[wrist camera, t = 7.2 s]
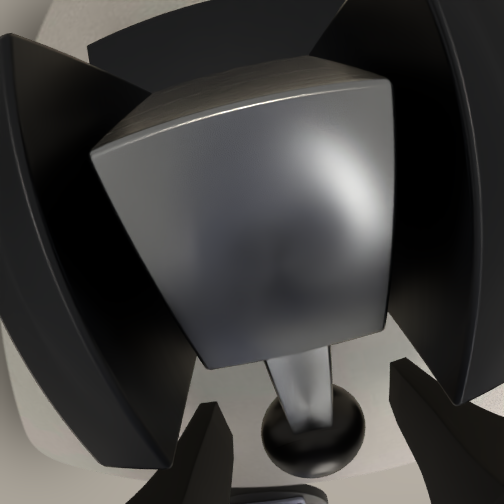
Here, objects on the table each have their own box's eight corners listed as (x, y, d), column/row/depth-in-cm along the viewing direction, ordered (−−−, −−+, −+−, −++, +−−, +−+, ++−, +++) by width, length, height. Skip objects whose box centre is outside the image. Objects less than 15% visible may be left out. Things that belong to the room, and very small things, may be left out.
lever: (350, 394, 11) (369, 471, 8) (266, 413, 11) (276, 491, 8) (333, 48, 4) (485, 88, 1) (125, 99, 4) (7, 204, 2)
